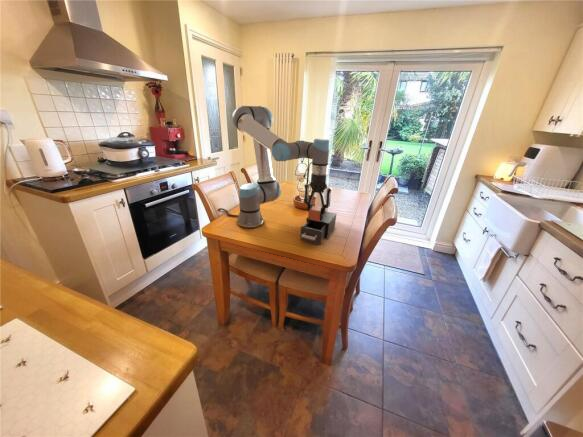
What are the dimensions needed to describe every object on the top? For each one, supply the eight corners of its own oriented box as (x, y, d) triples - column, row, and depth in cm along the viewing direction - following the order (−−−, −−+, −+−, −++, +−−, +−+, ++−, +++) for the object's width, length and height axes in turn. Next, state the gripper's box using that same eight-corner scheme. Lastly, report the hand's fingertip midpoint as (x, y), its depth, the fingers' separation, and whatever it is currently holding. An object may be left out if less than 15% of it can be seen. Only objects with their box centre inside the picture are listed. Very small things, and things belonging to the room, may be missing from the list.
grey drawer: (317, 249, 116) (319, 235, 112) (296, 243, 120) (297, 230, 116) (328, 234, 130) (330, 221, 127) (309, 229, 134) (310, 217, 131)
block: (308, 219, 119) (309, 209, 117) (312, 215, 123) (313, 205, 121) (318, 221, 117) (319, 211, 114) (322, 217, 121) (323, 207, 119)
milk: (320, 220, 148) (323, 187, 138) (313, 217, 152) (316, 184, 143) (327, 218, 151) (330, 185, 142) (320, 214, 156) (323, 183, 146)
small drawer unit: (327, 239, 127) (328, 223, 123) (305, 233, 132) (306, 218, 127) (334, 228, 139) (336, 213, 135) (314, 223, 144) (315, 209, 139)
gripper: (298, 172, 111) (296, 216, 120) (336, 178, 104) (330, 224, 113) (304, 169, 117) (301, 211, 127) (340, 174, 110) (335, 219, 120)
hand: (315, 217), depth 120 cm, fingers closed on block, 5 cm apart
